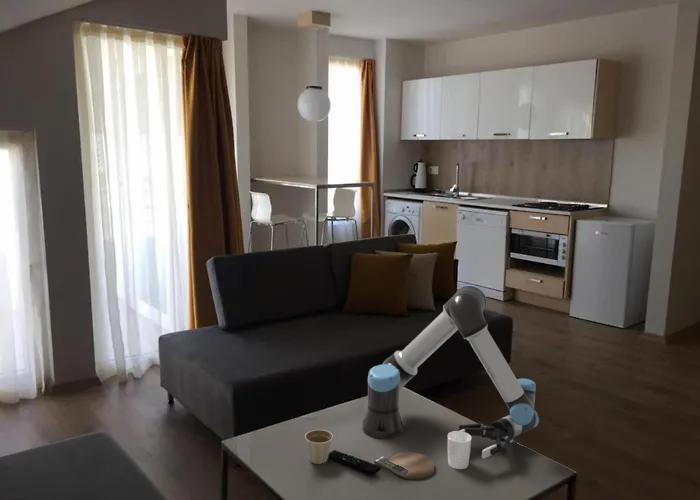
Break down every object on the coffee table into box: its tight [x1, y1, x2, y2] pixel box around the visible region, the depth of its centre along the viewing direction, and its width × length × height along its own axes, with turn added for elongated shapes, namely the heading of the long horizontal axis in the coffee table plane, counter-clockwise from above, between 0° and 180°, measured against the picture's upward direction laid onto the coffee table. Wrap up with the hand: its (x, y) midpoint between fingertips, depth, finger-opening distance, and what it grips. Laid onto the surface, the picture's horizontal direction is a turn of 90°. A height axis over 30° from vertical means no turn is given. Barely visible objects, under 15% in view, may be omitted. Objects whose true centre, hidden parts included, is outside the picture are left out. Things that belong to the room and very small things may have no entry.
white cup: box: [447, 430, 473, 470], centre depth 201 cm, size 8×8×10 cm
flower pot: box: [304, 429, 334, 465], centre depth 202 cm, size 9×9×9 cm
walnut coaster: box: [388, 451, 435, 480], centre depth 199 cm, size 15×15×1 cm
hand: (466, 446), depth 202 cm, fingers open, 13 cm apart
